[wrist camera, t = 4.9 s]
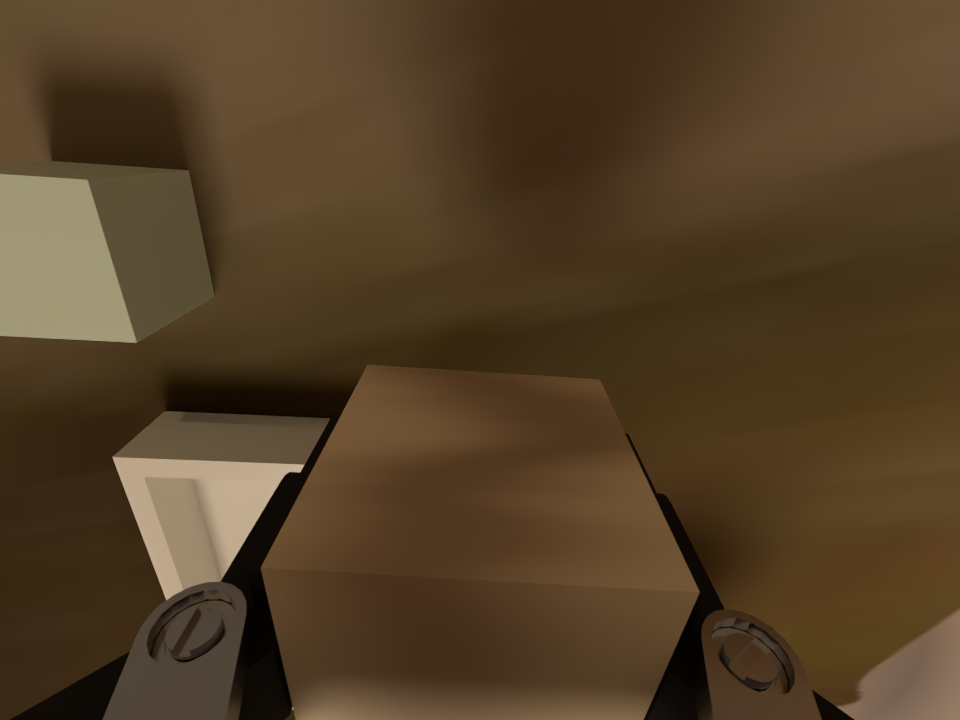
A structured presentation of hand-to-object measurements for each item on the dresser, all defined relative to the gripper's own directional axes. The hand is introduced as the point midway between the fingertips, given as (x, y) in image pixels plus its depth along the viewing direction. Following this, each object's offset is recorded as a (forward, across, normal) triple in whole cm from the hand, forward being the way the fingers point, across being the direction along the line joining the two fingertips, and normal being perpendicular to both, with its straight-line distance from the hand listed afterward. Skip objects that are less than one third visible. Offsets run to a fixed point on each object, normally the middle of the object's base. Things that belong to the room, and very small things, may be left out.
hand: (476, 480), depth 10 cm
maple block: (+1, 0, 0) cm, 1 cm away
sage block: (+10, +14, -3) cm, 18 cm away
